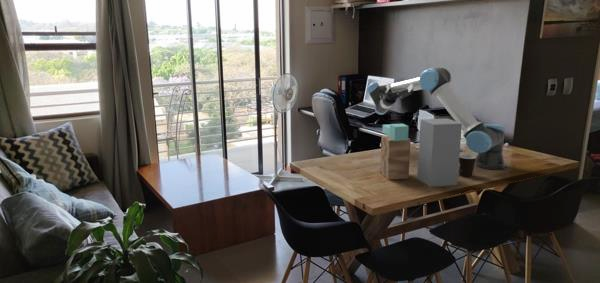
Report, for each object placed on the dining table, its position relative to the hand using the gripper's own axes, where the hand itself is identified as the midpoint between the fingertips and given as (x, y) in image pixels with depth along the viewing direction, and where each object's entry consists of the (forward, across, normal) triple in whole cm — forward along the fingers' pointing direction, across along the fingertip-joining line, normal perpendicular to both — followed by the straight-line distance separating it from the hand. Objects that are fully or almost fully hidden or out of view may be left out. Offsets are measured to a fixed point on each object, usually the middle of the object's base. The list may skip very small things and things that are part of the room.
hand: (401, 85), depth 244 cm
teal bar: (+5, +11, -30) cm, 33 cm away
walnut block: (-2, +11, -49) cm, 51 cm away
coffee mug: (+2, -26, -52) cm, 58 cm away
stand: (+9, -6, -56) cm, 57 cm away
